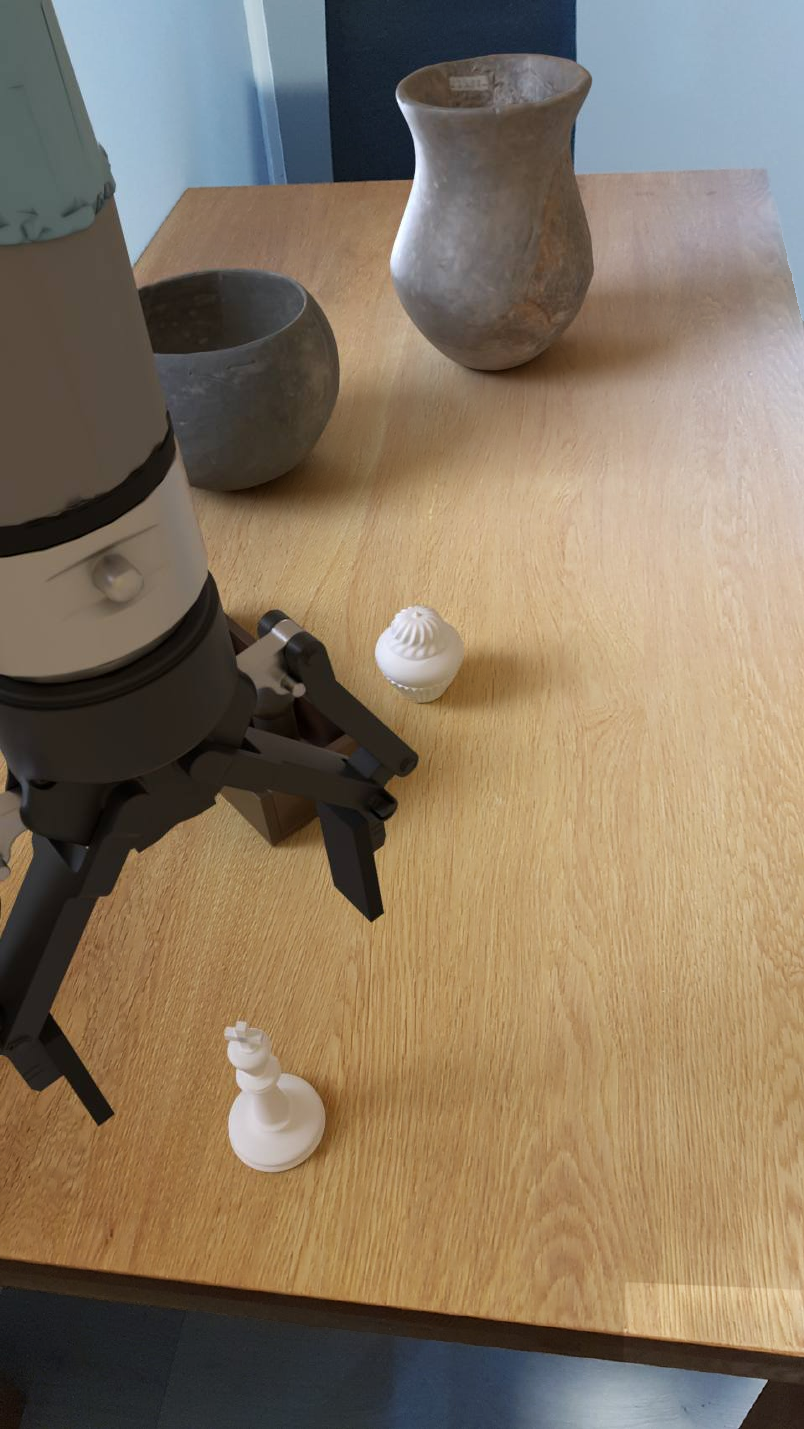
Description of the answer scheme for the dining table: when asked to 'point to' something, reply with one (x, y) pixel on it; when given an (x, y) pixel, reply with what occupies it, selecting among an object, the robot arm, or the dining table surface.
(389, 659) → the muffin
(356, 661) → the dining table surface
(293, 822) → the rack
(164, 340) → the bowl
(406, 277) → the vase
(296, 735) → the ebony piece
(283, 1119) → the chess piece
